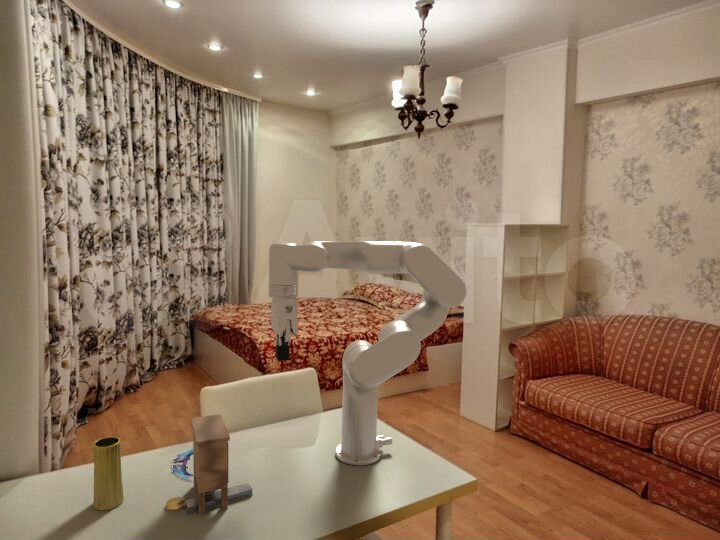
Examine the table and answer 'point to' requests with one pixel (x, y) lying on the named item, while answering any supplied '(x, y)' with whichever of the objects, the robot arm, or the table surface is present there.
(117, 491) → the vase
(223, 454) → the cabinet
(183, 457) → the decorative blades
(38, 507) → the table surface
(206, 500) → the bar
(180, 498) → the token
